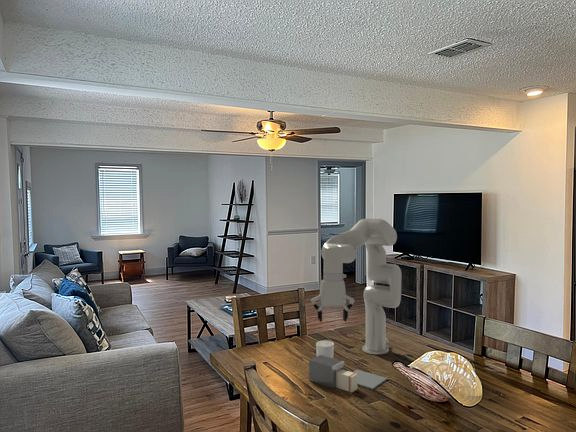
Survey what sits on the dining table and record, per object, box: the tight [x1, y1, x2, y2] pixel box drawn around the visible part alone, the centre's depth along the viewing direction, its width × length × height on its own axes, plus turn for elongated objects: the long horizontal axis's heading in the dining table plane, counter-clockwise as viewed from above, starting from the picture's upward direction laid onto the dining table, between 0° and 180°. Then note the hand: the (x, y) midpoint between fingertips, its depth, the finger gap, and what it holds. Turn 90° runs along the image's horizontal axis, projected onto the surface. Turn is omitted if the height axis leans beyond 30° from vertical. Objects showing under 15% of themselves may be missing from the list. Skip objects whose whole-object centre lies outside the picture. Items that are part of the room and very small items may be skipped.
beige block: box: [336, 369, 358, 393], centre depth 172 cm, size 4×12×6 cm, turn 50°
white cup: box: [315, 340, 335, 359], centre depth 193 cm, size 8×8×10 cm
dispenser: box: [308, 355, 346, 390], centre depth 176 cm, size 8×12×9 cm, turn 50°
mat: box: [353, 369, 388, 391], centre depth 178 cm, size 12×14×1 cm
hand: (332, 320), depth 172 cm, fingers open, 9 cm apart
